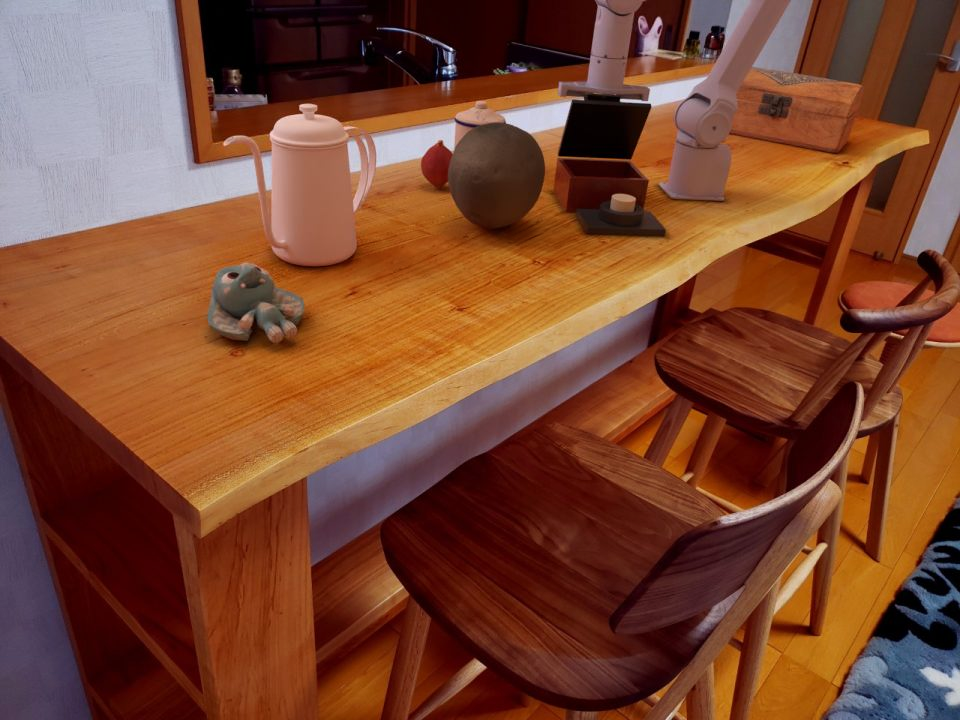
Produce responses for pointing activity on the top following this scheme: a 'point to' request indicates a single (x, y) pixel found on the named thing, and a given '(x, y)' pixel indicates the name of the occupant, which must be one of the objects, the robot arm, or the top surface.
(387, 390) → the top surface
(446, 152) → the onion
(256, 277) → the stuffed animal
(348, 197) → the coffeepot
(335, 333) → the top surface
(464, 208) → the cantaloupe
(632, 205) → the button
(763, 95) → the wooden box
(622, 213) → the switch block
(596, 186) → the reddish-brown open box
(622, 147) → the box lid
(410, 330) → the top surface
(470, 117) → the teacup with lid
